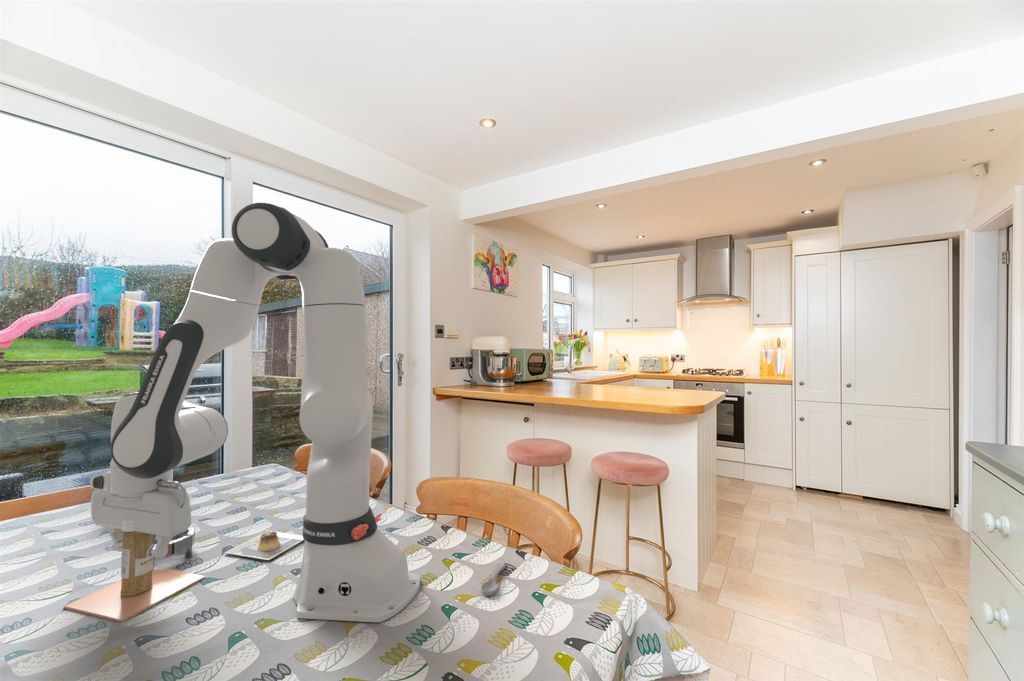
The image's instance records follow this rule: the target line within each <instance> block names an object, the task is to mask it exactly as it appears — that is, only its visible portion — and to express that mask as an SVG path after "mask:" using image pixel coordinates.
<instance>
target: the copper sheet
mask: <svg viewBox="0 0 1024 681" xmlns="http://www.w3.org/2000/svg"><path fill="white" fill-rule="evenodd" d="M204 579H206V575H201V574H197V573H196V574H195V573H192V572H191V573H190V572H186V571H185V572H184V571H180V570H175V569H170V568H163V567H159V566H155V565H154V566H153V568H152V582H153V585H152V587H151V588H150V589H149V590H147V591H145V592H143V593H141V594H138V595H135V596H128V597H126V596H122V595H121V594H120V592H121V587H122V586H121V585H122V579H120V580H118V581H115V582H114V583H110V584H109V585H107V586H105V587H102V588H101V589H98V590H96V591H93V592H92V593H89V594H87V595H85V596H83V597H81V598H78V599H76V600H74V601H72V602H69V603H67V604H65V605H63V609H66V610H69V611H74V612H78V613H80V614H81V613H82V614H86V615H90V616H93V617H98V618H102V619H106V620H110V621H115V622H119V623H124V622H126V621H128V620H129V619H131V618H134V617H136V616H137V615H139V614H141V613H143V612H145V611H146V610H149V609H150V608H152V607H154V606H156V605H158V604H160V603H161V602H163V601H165V600H167V599H170V598H172V596H175V595H176V594H178V593H180V592H182V591H184V590H185V589H187V588H189V587H191V586H194V585H196V584H197V583H199V582H201V581H202V580H204Z"/></svg>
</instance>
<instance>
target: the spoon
mask: <svg viewBox="0 0 1024 681" xmlns="http://www.w3.org/2000/svg"><path fill="white" fill-rule="evenodd" d="M506 566H507V565H506V564H505V563H496V565H495V567H494V569H493V571H492V574H491V577H490V578H489V580H488V581H486V582H484V583H483V584H482V585H481V587H480V591H481V592H480V593H481V594H482V595H483V596H485V597H492V596H494V595H495V594H496V593H497V591H498V585H497V583H496V580H497V578H498V576H499V574H500V573H501V572H502V571H503V570H504V569H506Z"/></svg>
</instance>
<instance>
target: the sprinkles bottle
mask: <svg viewBox="0 0 1024 681" xmlns="http://www.w3.org/2000/svg"><path fill="white" fill-rule="evenodd" d="M122 531H123V532H122V533H123V542H122V543H123V544H122V552H121V568H120V571H121V572H120V577H121V580H122V585H121V586H122V587H121V592H120V594H121V595H122V596H126V597H128V596H135V595H138V594H141V593H143V592H145V591H147V590H149V589H150V588H151V587H152V585H153V582H152V568H153V557H151V554H152V553H151V549H152V548H153V534H147V533H141V532H136V522H135V521H133V520H126V519H123V520H122Z"/></svg>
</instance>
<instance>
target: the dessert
mask: <svg viewBox="0 0 1024 681" xmlns="http://www.w3.org/2000/svg"><path fill="white" fill-rule="evenodd" d="M279 537H280V538H286V539H290V540H292V539H293V540H299V541H297V542H295V543H294V544H292V545H291V546H288V547H287V548H285V549H284V550H282V551H280V552H278V553H277V554H275V555H273V556H272V557H269V558H266V557H259V556H253V555H247V554H240V553H237V552H239V551H240V550H241V551H242V550H243V549H244V548H247V547H248V546H251V545H253V544H254V543H256V542H258V541H259V542H258V545H257V547H256V548H257V549H256V550H257V551H258V552H269V551H273V550H275V549H277V548H279V547H280V546H281V543H280V539H279ZM303 541H305V540H304V538H303V534H297V533H289V532H284V531H283V532H282V531H278V530H277V531H275V530H271V529H270V528H266V530H265V531H264V532H262V533H261V534H259V535H256V536H255V537H252V538H251V539H248V540H247V541H244V542H243V543H241V544H238V545H236V546H234V547H233V548H230V549H229V550H227V551H225V552H224V553H223V554H227V555H232V556H239V557H244V558H251V559H257V560H263V561H271V560H272V559H274V558H275V557H276V558H277V557H278V556H280V554H282V553H284V552H286V551H288V550H290V549H291V548H293V547H295V546H297V545H298V544H300V543H302V542H303Z"/></svg>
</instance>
